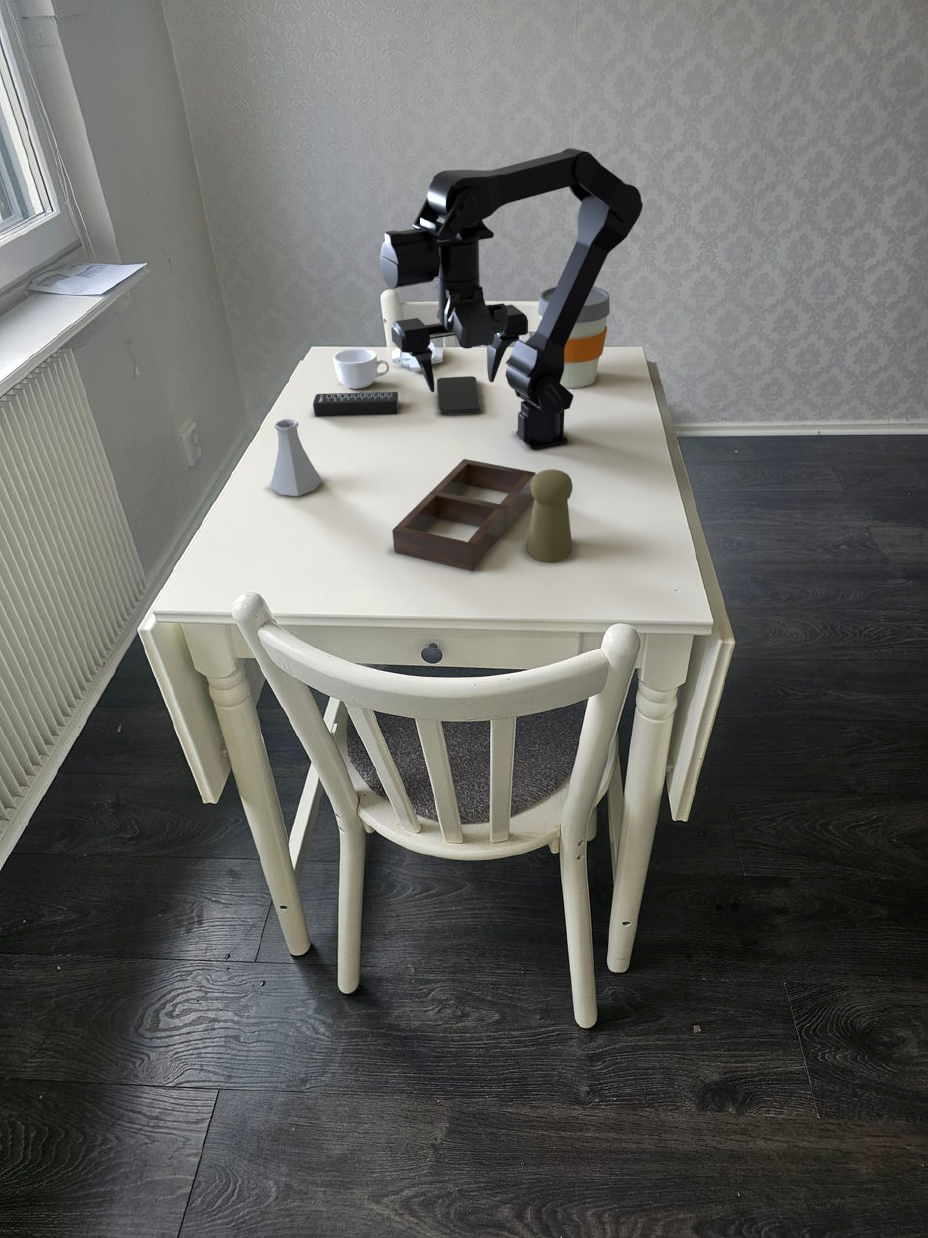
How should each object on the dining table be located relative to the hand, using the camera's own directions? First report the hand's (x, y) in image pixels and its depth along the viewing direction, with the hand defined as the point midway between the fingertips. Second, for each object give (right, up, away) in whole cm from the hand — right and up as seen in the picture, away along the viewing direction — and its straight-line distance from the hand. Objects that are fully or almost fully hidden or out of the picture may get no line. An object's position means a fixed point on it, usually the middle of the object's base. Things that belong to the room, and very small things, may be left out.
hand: (461, 386), depth 125 cm
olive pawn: (+12, -25, -14) cm, 31 cm away
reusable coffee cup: (+20, +10, +32) cm, 39 cm away
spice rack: (+1, -21, -7) cm, 22 cm away
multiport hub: (-18, +2, +24) cm, 30 cm away
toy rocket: (-9, +17, +42) cm, 46 cm away
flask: (-25, -14, +3) cm, 29 cm away
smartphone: (-1, +5, +26) cm, 27 cm away
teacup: (-18, +9, +33) cm, 39 cm away
